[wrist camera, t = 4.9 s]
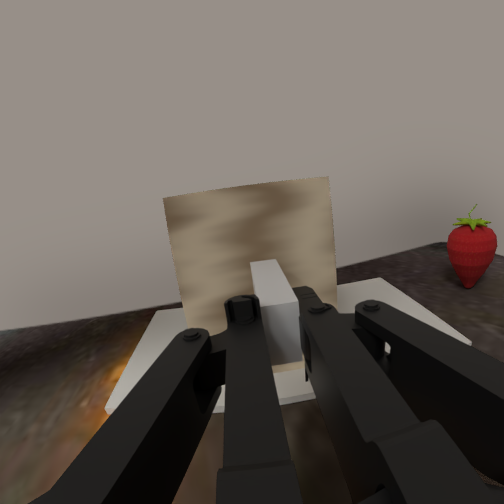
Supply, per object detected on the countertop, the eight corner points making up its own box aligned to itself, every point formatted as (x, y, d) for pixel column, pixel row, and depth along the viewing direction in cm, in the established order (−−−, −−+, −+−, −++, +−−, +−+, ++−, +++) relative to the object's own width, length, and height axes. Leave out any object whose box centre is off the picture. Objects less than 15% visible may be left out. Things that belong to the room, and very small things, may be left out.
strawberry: (502, 288, 25) (507, 204, 23) (466, 304, 25) (472, 208, 22) (471, 275, 31) (473, 199, 29) (433, 288, 30) (435, 203, 28)
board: (201, 381, 20) (162, 198, 17) (204, 363, 22) (171, 196, 19) (337, 361, 20) (328, 176, 17) (328, 344, 23) (317, 177, 20)
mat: (107, 414, 17) (104, 408, 17) (158, 315, 34) (156, 310, 34) (470, 348, 18) (471, 341, 18) (380, 281, 35) (380, 277, 35)
